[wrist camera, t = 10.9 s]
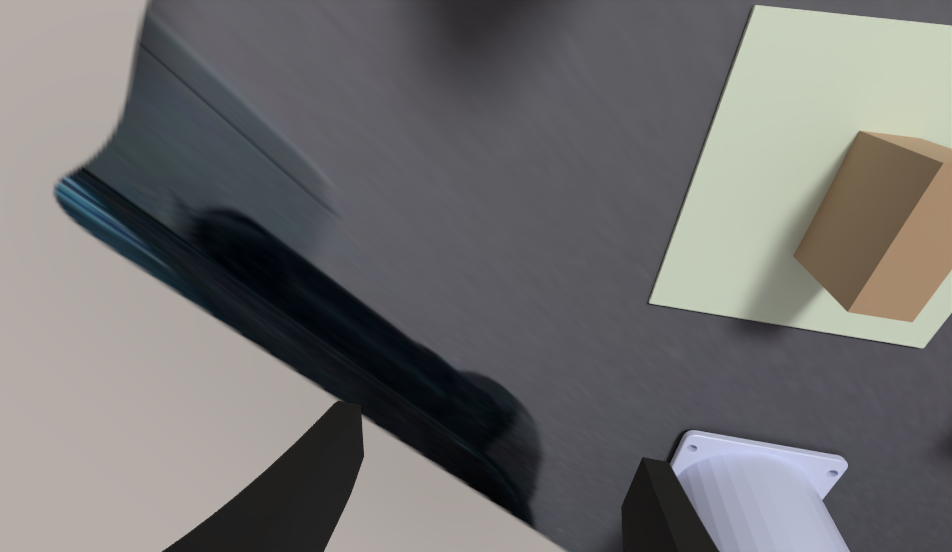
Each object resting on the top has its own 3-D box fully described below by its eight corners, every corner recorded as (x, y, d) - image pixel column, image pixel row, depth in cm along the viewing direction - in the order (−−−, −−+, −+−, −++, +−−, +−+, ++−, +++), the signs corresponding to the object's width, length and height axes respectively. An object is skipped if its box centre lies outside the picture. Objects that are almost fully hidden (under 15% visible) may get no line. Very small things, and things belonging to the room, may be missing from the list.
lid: (910, 336, 20) (1002, 420, 16) (646, 293, 21) (667, 361, 17) (1131, 46, 14) (1368, 59, 10) (746, 5, 15) (817, 2, 11)
